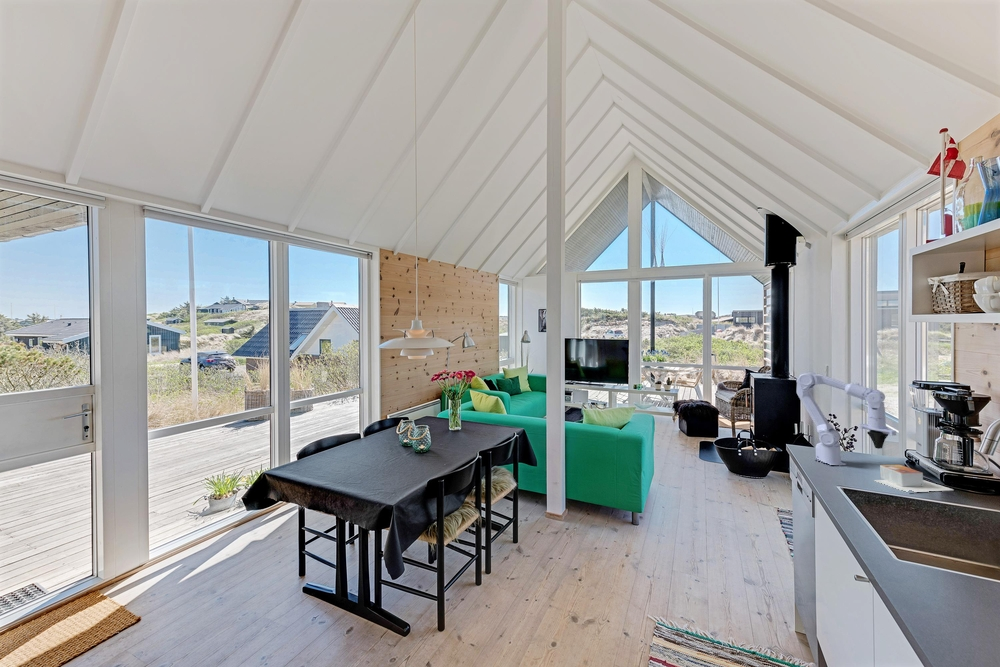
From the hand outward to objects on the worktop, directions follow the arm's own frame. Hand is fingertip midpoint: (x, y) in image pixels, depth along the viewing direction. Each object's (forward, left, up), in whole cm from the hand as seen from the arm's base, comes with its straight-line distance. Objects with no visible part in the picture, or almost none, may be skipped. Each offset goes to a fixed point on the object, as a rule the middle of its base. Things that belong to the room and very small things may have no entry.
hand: (878, 448), depth 180 cm
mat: (+17, -4, -10) cm, 20 cm away
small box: (+8, -4, -7) cm, 12 cm away
